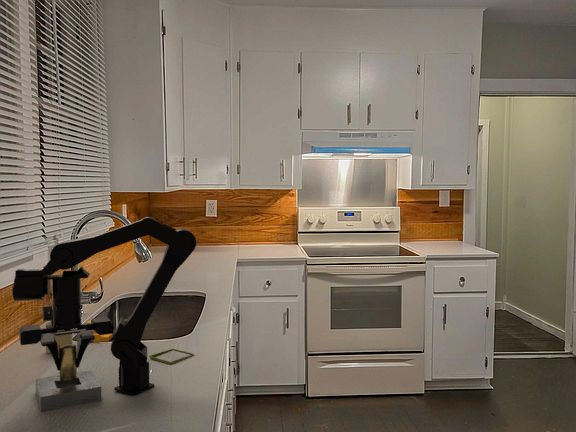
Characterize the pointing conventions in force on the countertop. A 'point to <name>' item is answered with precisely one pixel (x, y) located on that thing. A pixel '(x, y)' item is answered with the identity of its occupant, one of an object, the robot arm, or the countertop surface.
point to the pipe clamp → (101, 337)
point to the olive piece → (167, 352)
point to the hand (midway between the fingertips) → (68, 368)
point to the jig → (67, 391)
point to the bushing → (67, 362)
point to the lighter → (60, 339)
